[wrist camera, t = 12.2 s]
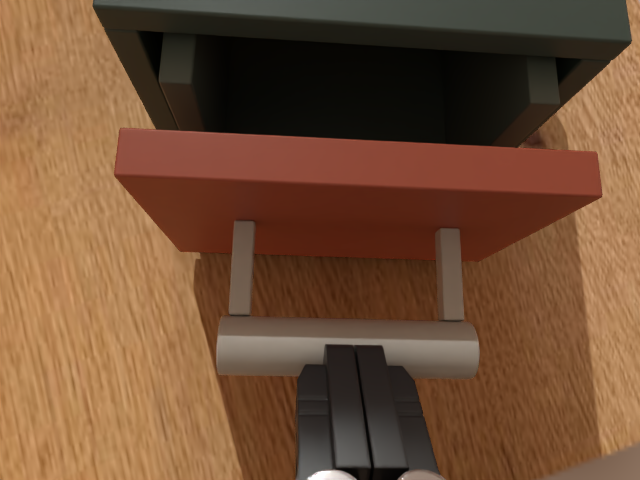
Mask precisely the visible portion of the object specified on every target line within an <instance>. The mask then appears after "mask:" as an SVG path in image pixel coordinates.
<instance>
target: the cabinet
mask: <svg viewBox="0 0 640 480" xmlns="http://www.w3.org/2000/svg"><path fill="white" fill-rule="evenodd" d="M93 8H94V10H95V12H96V14H97V16H98V18H99V20H100V22H101V24H102V26H103V27H104V30H105V32H106V34H107V36H108V38H109V40H110V42H111V43H112V45H113V47H114V49H115V51H116V53H117V55H118V57H119V59H120V61H121V63H122V65H123V67H124V68H125V70H126V72H127V74H128V76H129V78H130V80H131V82H132V84H133V86H134V88H135V90H136V91H137V93H138V95H139V97H140V99H141V101H142V103H143V105H144V107H145V109H146V111H147V113H148V114H149V116H150V118H151V120H152V122H153V124H154V126H155V128H156V130H175V131H179V128H178V126H177V123H176V121H175V119H174V116H173V114H172V112H171V109H170V107H169V105H168V102H167V100H166V98H165V95H164V93H163V91H162V88H161V86H160V83H159V71H160V62H161V52H162V43H163V33H164V32H170V33H186V34H201V35H217V36H233V37H248V38H264V39H280V40H295V41H311V42H327V43H342V44H358V45H374V46H389V47H405V48H421V49H436V50H452V51H468V52H483V53H499V54H515V55H530V56H546V57H555V60H556V70H557V79H558V88H559V98H560V105H559V106H558V107H557V108H556V109H555V110H554V111H553V112H552V113H551V114H549V115H548V116H547V117H546V118H545V119H544V120H543V121H542V122H541V123H540V124H539V125H538V126H537V127H535V128H534V129H533V130H532V131H531V132H530V133H529V134H528V135H527V136H526V137H525V138H524V139H523V140H521V141H520V142H519V143H518V144H517V145H516V146H515V147H514V148H517V147H519V146H520V145H521V144H522V143H523V142H524V141H525V140H526V139H527V138H528V137H529V136H531V135H532V134H533V133H534V132H535V131H536V130H537V129H538V128H539V127H540V126H542V125H543V124H544V123H545V122H546V121H547V120H548V119H549V118H550V117H551V116H552V115H554V114H555V113H556V112H557V111H558V110H559V109H560V108H561V107H562V106H563V105H564V104H566V103H567V102H568V101H569V100H570V99H571V98H572V97H573V96H574V95H575V94H576V93H578V92H579V91H580V90H581V89H582V88H583V87H584V86H585V85H586V84H587V83H588V82H590V81H591V80H592V79H593V78H594V77H595V76H596V75H597V74H598V73H599V72H600V71H602V70H603V69H604V68H605V67H606V66H607V65H608V64H609V63H610V61H611V60H613V59H615V58H616V57H617V56H618V55H619V54H620V53H621V52H622V51H623V50H624V49H625V48H627V47H628V46H629V45H630V44H631V41H632V39H631V32H630V25H629V18H628V12H627V5H626V0H93Z"/></svg>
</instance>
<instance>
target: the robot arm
mask: <svg viewBox="0 0 640 480" xmlns="http://www.w3.org/2000/svg"><path fill="white" fill-rule="evenodd" d="M295 480H446V479H445V478H444V477H442V476H441V475H440V473H439V470H438V467H437V463H436V459H435V456H434V452H433V448H432V444H431V441H430V437H429V433H428V430H427V426H426V422H425V418H424V416H423V411H422V407H421V404H420V402H419V396H418V392H417V389H416V385H415V381H414V380H413V379H412V377H411V376H410V375H409V373H408V372H407V371H406V370H405V368H404V367H403V366H387V362H386V357H385V353H384V348H383V346H382V345H354V347H353V345H349V344H325V347H324V357H323V364H305V366H304V368H303V370H302V372H301V373H300V375H299V377H298V379H297V394H296V412H295Z"/></svg>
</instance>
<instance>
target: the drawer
mask: <svg viewBox="0 0 640 480" xmlns="http://www.w3.org/2000/svg"><path fill="white" fill-rule="evenodd" d="M159 83H160V86H161V88H162V91H163V93H164V95H165V98H166V100H167V102H168V105H169V107H170V109H171V112H172V114H173V116H174V119H175V121H176V123H177V126H178V128H179V131H175V130H156V129H136V128H120V130H119V138H118V146H117V154H116V162H115V170H114V175H115V177H116V178H117V179H118V181H119V182H120V183H121V184H122V185H123V186H124V187H125V189H126V190H127V191H128V192H129V193H130V194H131V195H132V197H133V198H134V199H135V200H136V201H137V202H138V204H139V205H140V206H141V207H142V208H143V209H144V210H145V212H146V213H147V214H148V215H149V216H150V217H151V218H152V220H153V221H154V222H155V223H156V224H157V225H158V227H159V228H160V229H161V230H162V231H163V232H164V233H165V235H166V236H167V237H168V238H169V239H170V240H171V241H172V243H173V244H174V245H175V246H176V247H177V248H178V250H179V251H181V252H207V253H232V263H231V279H230V296H229V314H230V315H231V316H225V315H224V316H222V317H221V319H220V322H219V327H218V335H217V348H216V366H217V372H218V374H219V375H237V376H296V377H299V375H300V373H301V372H302V370H303V368H304V366H305V364H323V357H324V347H325V344H349V345H353V347H354V345H382V346H383V348H384V353H385V357H386V362H387V366H403V367H404V368H405V370H406V371H407V372H408V373H409V375H410V376H411V377H412V378H415V379H472V378H473V377H474V376H475V375H476V373H477V370H478V366H479V358H480V349H479V341H478V336H477V333H476V330H475V328H474V326H473V325H472V324H471V323H470V322H464V321H463V320H464V305H463V285H462V265H461V261H474V262H478V261H481V260H482V259H484V258H486V257H488V256H490V255H492V254H494V253H496V252H498V251H500V250H502V249H504V248H505V247H507V246H509V245H511V244H513V243H515V242H517V241H519V240H521V239H523V238H525V237H527V236H528V235H530V234H532V233H534V232H536V231H538V230H540V229H542V228H544V227H546V226H548V225H550V224H551V223H553V222H555V221H557V220H559V219H561V218H563V217H565V216H567V215H569V214H571V213H573V212H574V211H576V210H578V209H580V208H582V207H584V206H586V205H588V204H590V203H592V202H594V201H596V200H597V199H599V198H601V197H602V187H601V179H600V171H599V163H598V155H597V152H592V151H572V150H553V149H533V148H514V147H515V146H516V145H517V144H518V143H519V142H520V141H521V140H523V139H524V138H525V137H526V136H527V135H528V134H529V133H530V132H531V131H532V130H533V129H534V128H535V127H537V126H538V125H539V124H540V123H541V122H542V121H543V120H544V119H545V118H546V117H547V116H548V115H549V114H551V113H552V112H553V111H554V110H555V109H556V108H557V107H558V106H559V105H560V98H559V88H558V79H557V70H556V60H555V57H546V56H530V55H515V54H499V53H483V52H468V51H452V50H436V49H421V48H405V47H389V46H374V45H358V44H342V43H327V42H311V41H295V40H280V39H264V38H248V37H233V36H217V35H201V34H186V33H170V32H164V33H163V43H162V52H161V62H160V71H159ZM254 254H266V255H296V256H325V257H355V258H385V259H414V260H436V275H437V301H438V320H439V321H425V320H385V319H345V318H305V317H265V316H251V313H252V293H253V273H254Z"/></svg>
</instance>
